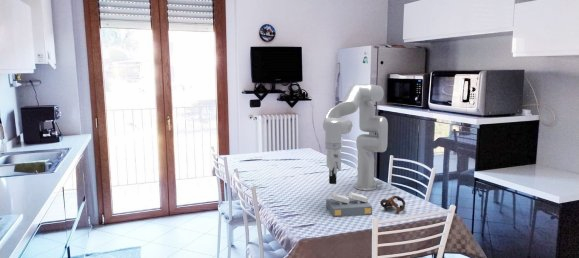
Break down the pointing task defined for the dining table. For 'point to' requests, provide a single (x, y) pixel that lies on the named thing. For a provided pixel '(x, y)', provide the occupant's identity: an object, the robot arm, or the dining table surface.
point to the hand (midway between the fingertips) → (332, 183)
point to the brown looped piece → (393, 203)
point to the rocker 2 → (358, 197)
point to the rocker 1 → (340, 198)
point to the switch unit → (348, 208)
